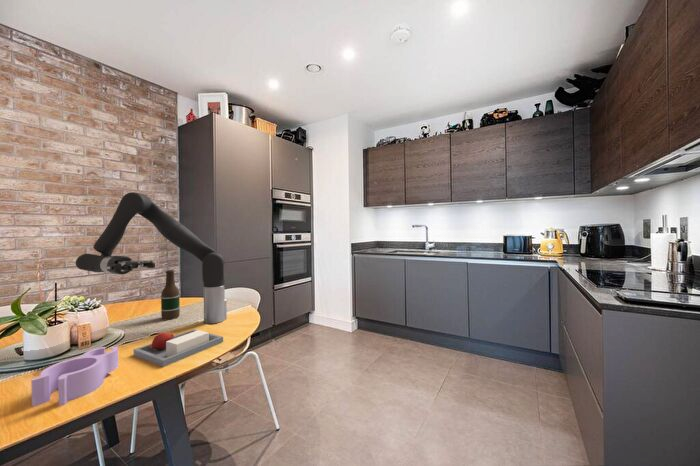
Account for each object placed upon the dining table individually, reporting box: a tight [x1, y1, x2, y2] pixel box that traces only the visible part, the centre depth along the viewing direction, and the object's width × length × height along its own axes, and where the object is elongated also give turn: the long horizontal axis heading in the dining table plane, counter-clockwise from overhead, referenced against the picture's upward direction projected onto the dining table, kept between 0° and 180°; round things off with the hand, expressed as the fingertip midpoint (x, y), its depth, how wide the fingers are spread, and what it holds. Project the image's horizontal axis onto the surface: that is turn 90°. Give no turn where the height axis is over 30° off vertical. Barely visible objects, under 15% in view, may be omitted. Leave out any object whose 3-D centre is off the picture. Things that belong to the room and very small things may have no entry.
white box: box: [166, 329, 210, 357], centre depth 101 cm, size 12×6×5 cm, turn 154°
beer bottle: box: [160, 269, 181, 321], centre depth 141 cm, size 8×8×24 cm
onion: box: [149, 331, 175, 350], centre depth 102 cm, size 6×6×8 cm
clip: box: [31, 346, 119, 407], centre depth 81 cm, size 20×12×7 cm, turn 2°
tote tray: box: [133, 328, 224, 368], centre depth 103 cm, size 22×18×3 cm
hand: (143, 266), depth 111 cm, fingers open, 8 cm apart
